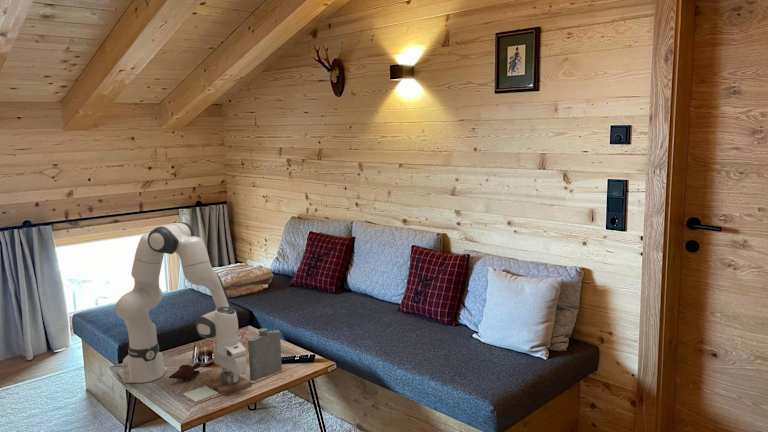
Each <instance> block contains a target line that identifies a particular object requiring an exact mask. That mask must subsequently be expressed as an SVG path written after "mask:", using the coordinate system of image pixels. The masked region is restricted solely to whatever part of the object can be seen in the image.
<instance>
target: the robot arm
mask: <svg viewBox="0 0 768 432" xmlns="http://www.w3.org/2000/svg"><path fill="white" fill-rule="evenodd" d="M194 230H195V229H194V228H193V227H192V225H191V224H190V223H187V222H184V221H177V222H171V223H167V224H164V225H162V226H156V228H153V229H152V230H151V231H150V232H147V233H144V234H143V235H142V236H141V237H140V239H139V241H138V244H137V247H136V249H135V254H134V259H133V264H132V267H131V277H132V278H133V279H134V284H133V285H134V286H133V288H132V289H131V291H129V292H126V293H125V294H123V295H122V296H121V297H120V298H119V299H118V300H117V301H116V303H115V313H116V315H117V317H119V318H120V319H121V320H123V322H124V324H125V325H126V329H127V334H128V343H129V344H128V351H127V352H128V353H127V355H126V356H125V357H124V358H123V359H122V363H121V364H120V369H118V371H117V373H118V375H119V376H120V378H121V380H122V382H123V383H124V384H131V383H132V384H133V383H134V384H139V383H141V384H142V383H148V382H153V381H155V380H158V379H160V378H161V377H163V376H164V375H165V372H167V371H168V370H169V369H168V367H167V366H165V363H164V356H163V353H162V352H161V351H160V345H159V342H158V337H157V336H158V335H157V326H156V324H155V323H154V322H153V321H151V318H150V315H149V313H150V311H151V310H153V309H154V308H156V307H157V306H158V305H159V303H160V302H161V300H162V299H163V292H162V289H161V287H160V275H161V269H162V265H163V259H164V256H165V254H168V255H172V254H175V253H176V255H178V257H179V259H180V263H181V267H182V268H181V269H182V272H183V276H184V278H185V280H187V281H188V282H189V283H190V284H192V285H194V286H202V287H205V288H206V289H208V291H210V294H211V297H212V300H213V303H214V305H215V310H213V311H212V310H211V311H210V312H208V313H205V314H203V315H201V316H200V317H198V318H197V319H196V322H195V328H196V332H197V334H198V335H199V336H200V337H202V338H204V339H212V338H215V339H216V342H215V343H214V347H213V350H212V351H213V352H212V353H213V357H212V358H213V362H214V364H215V365H217V366H219V367H220V369H221V373H222V372H225V371H228V370H229V371H231V372H233V374H234V376H233V377H232V381H234V382H237V381H238V375H240V376H241V375H244V374H246V373H247V371H248V370H247V369H248V367H247V366H248V365H247V364H248V363H247V357H246V354H247V348H246V347H245V346H244V345H243V344H242V343H241V341H240V336H239V320H238V315H237V312H236V310H235V308H233V306H232V304H231V301H230V300H229V297H228V294H227V291H226V289H225V286H224V284H223V281H222V279H221V277H220V275H219V273H218V272H216V271H215V270H214V268H213V267H212V264H211V260H210V257H209V254H208V253H209V252H208V250H207V247H206V245H205V242H204V241H203V239H202V238H200V237H199V236H195V231H194Z"/></svg>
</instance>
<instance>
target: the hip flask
mask: <svg viewBox="0 0 768 432" xmlns="http://www.w3.org/2000/svg"><path fill="white" fill-rule="evenodd" d="M281 343H282V342H281V330H279V329H275V330H274V329H273V330H270V331H268V328H266V327H265V328H264V327H263V328H262V327H261V328H259V329H258V335H255V336H251V338H248V339H247V348H248V362H249V365H248V366H249V378H250V380H249V381H251V382H253V381H255V382H256V381H257V380H260V379H261V378H263V377H265V376H269V375H270V374H274V373H276V372H280V371H282V370H283V366H282V365H283V363H282V349H281V348H282V345H281Z"/></svg>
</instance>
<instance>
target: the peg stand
mask: <svg viewBox="0 0 768 432" xmlns="http://www.w3.org/2000/svg"><path fill="white" fill-rule="evenodd" d="M231 374H233V372H228V375H231ZM252 383H253V381H252V380H249V379H247V378H246V377H243V376H241V375H240V382H239V383H236V384H233V385H230V386H227V385H225V384H223V383H221V378H218V379H216V380H213V381H211V382H209V385H210V386H209V388H211V389H212V390H214V391H216V392H218V393H219V394H222V395H223V396H225V397H226V396H229V395H233V394H235V393H237V392H240V391H243V390H245V389H248V388H251V387H252V386H253V384H252Z"/></svg>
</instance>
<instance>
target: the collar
mask: <svg viewBox="0 0 768 432" xmlns="http://www.w3.org/2000/svg"><path fill="white" fill-rule="evenodd" d="M228 372H231V371H229V370H227V371H225V372H222V371H221V372H220V373H219V374H220V379H221V383H223V384H225V385H227V386H230V385H233V384H236V383H239V382H240V376H241V375H238V381H237V382H234V381H232V377H233V376H234V374H231V375H228Z"/></svg>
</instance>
